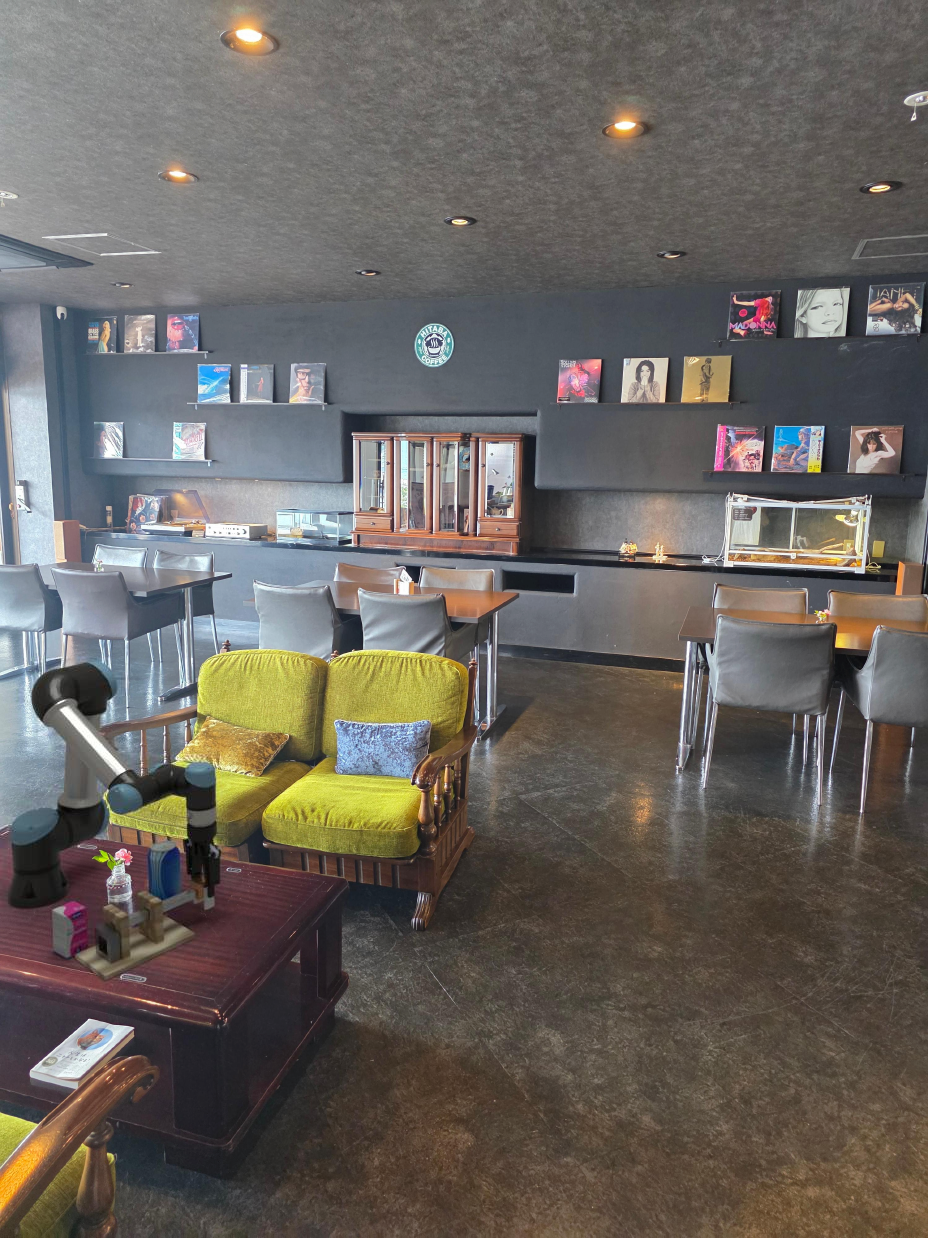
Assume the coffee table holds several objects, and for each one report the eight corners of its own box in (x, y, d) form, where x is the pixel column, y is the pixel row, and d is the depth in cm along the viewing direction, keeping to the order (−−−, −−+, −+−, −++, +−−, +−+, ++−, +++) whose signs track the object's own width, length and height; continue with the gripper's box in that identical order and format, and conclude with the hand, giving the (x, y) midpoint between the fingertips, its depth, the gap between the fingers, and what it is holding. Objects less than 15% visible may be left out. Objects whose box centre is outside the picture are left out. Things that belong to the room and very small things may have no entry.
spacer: (96, 953, 198) (94, 927, 197) (105, 949, 200) (104, 923, 199) (111, 964, 194) (109, 937, 193) (120, 959, 196) (119, 932, 195)
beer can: (171, 909, 222) (168, 854, 219) (143, 905, 224) (140, 850, 221) (187, 894, 230) (185, 841, 227) (160, 891, 232) (158, 838, 229)
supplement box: (67, 960, 197) (64, 916, 195) (53, 953, 200) (50, 909, 198) (89, 949, 202) (87, 906, 200) (75, 942, 205) (72, 899, 203)
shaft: (118, 926, 201) (117, 909, 200) (200, 891, 219) (199, 876, 218) (127, 932, 198) (126, 915, 197) (209, 896, 216) (208, 880, 216)
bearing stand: (75, 959, 198) (72, 913, 196) (164, 919, 217) (162, 877, 215) (105, 981, 189) (103, 933, 188) (195, 938, 208) (194, 894, 206)
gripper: (170, 817, 216) (173, 899, 220) (208, 835, 206) (210, 921, 210) (195, 809, 222) (197, 889, 226) (233, 826, 212) (235, 910, 215)
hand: (203, 904), depth 218 cm, fingers closed on shaft, 4 cm apart
